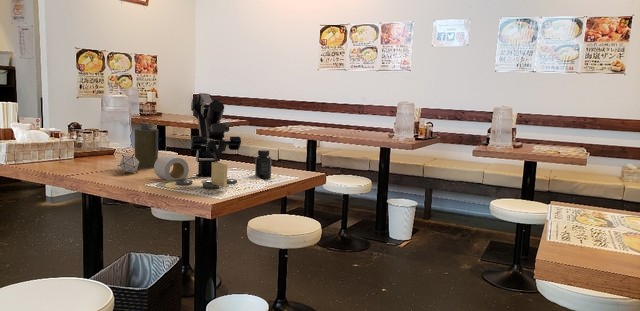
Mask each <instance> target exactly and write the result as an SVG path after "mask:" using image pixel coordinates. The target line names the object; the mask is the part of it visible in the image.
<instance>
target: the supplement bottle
mask: <svg viewBox="0 0 640 311" xmlns="http://www.w3.org/2000/svg"><path fill="white" fill-rule="evenodd" d="M254 163H255V166H254V167H255V169H254V170H255V172H254V175H255V177H258V178H260V179H261V180H268V179H272V157H271V156H270V150H268V149H258V151H257V156H256V157H255V162H254Z"/></svg>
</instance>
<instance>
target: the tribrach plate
mask: <svg viewBox="0 0 640 311" xmlns="http://www.w3.org/2000/svg"><path fill="white" fill-rule="evenodd" d="M204 182H211V179H210V180H209V179H203V180H201V183H202V184H203V183H204ZM233 184H234V185H235V184H238V180H237V179H235V178H227V185H233ZM175 185H176V186H192V185H193V180H190V179H176V180H175Z"/></svg>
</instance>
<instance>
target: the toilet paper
mask: <svg viewBox="0 0 640 311" xmlns="http://www.w3.org/2000/svg"><path fill="white" fill-rule="evenodd" d="M171 167H172V170H171ZM153 170H154V173H155V176H157V177H158V178H159V179H162V180H167V181H173V180H175V181H177V180H187V179H186V178H187V177H188V176H189V171H190V168H189V164H188V162H187V161H186V160H184V159H183V158H181V157H177V156H174V155H171V154H163V155H160V156H158V159H157V160H156V162H155V164H154V168H153ZM170 170H171V171H170Z"/></svg>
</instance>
